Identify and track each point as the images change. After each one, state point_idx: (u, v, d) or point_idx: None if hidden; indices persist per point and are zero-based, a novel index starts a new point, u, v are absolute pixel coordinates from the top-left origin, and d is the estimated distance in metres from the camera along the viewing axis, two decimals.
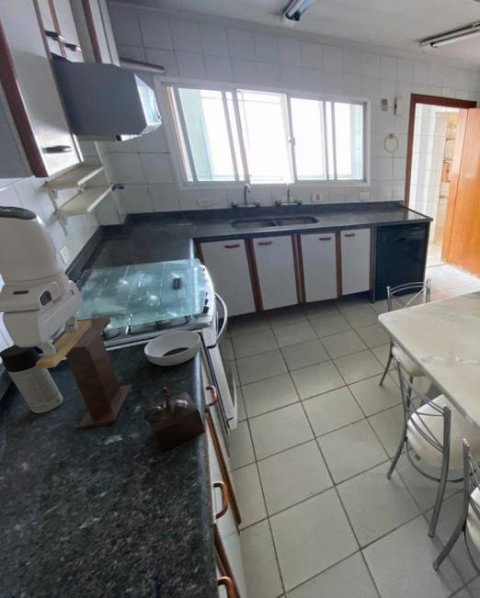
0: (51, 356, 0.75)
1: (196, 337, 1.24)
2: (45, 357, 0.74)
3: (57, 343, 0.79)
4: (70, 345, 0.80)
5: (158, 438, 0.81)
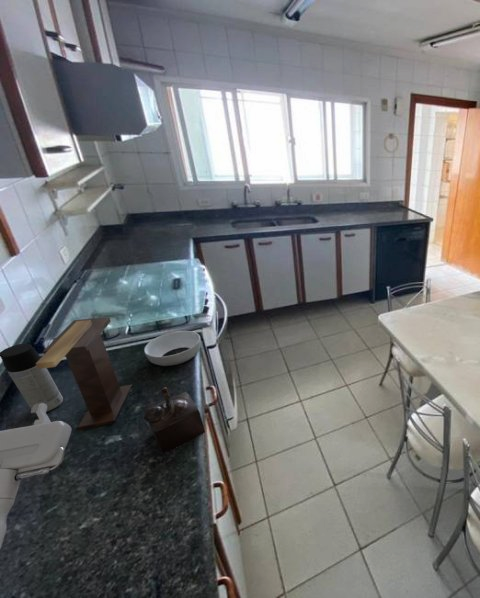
0: (51, 356, 0.75)
1: (196, 337, 1.24)
2: (45, 357, 0.74)
3: (57, 343, 0.79)
4: (70, 345, 0.80)
5: (158, 438, 0.81)
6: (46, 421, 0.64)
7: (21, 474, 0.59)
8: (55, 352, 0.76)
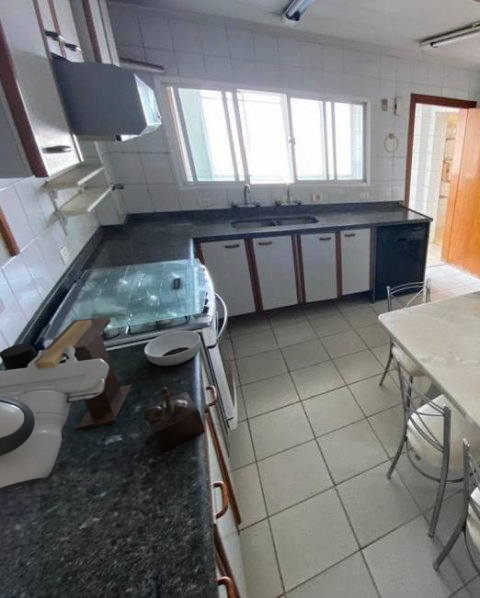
0: (51, 355, 0.75)
1: (196, 337, 1.24)
2: (45, 357, 0.74)
3: (57, 343, 0.79)
4: (70, 345, 0.80)
5: (158, 438, 0.81)
6: (75, 361, 0.77)
7: (72, 398, 0.72)
8: (55, 352, 0.76)
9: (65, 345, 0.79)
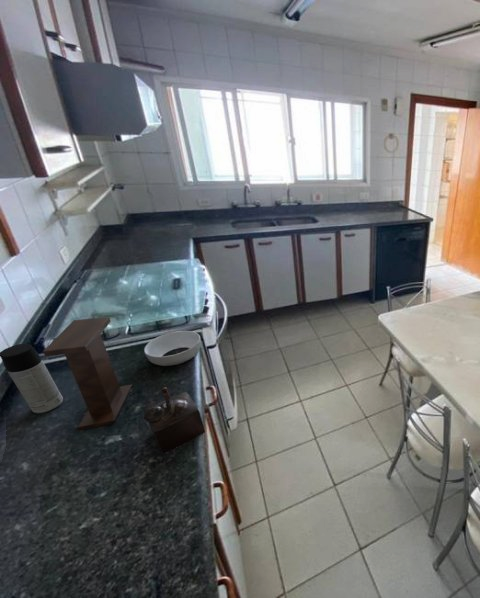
0: None
1: (196, 337, 1.24)
2: None
3: None
4: None
5: (158, 438, 0.81)
6: None
7: None
8: None
9: None
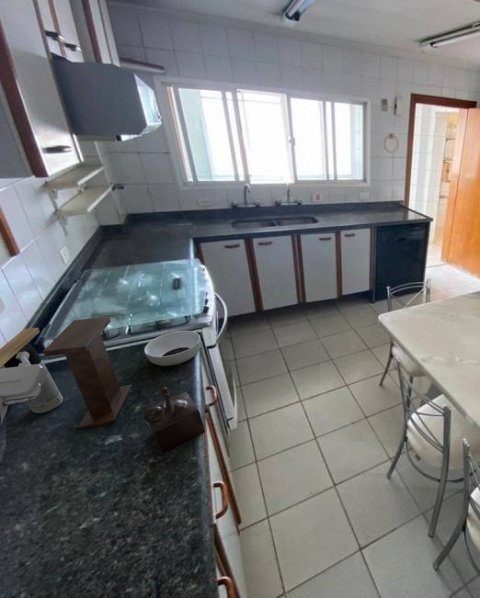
0: None
1: (196, 337, 1.24)
2: None
3: (0, 350, 0.84)
4: (13, 352, 0.85)
5: (158, 438, 0.81)
6: (28, 364, 0.83)
7: (7, 401, 0.77)
8: None
9: (7, 352, 0.84)
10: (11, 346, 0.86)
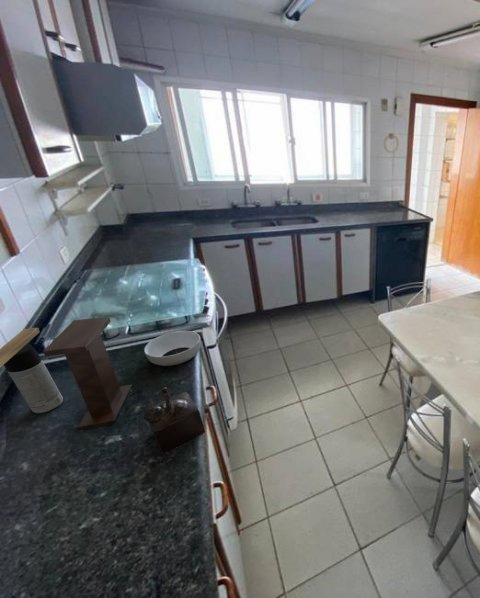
0: None
1: (196, 337, 1.24)
2: None
3: (0, 350, 0.84)
4: (13, 352, 0.85)
5: (158, 438, 0.81)
6: None
7: None
8: None
9: (7, 352, 0.84)
10: (11, 346, 0.86)
